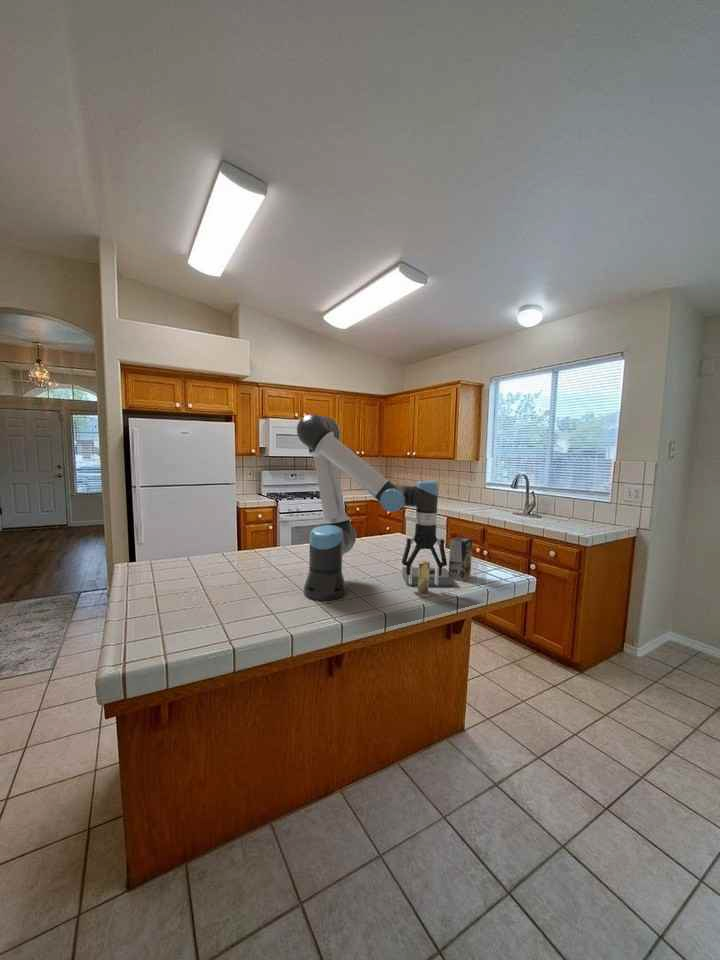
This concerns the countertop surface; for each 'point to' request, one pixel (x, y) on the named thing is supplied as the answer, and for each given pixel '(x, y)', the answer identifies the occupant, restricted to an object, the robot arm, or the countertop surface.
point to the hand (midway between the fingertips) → (423, 583)
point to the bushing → (423, 577)
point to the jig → (443, 580)
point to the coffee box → (460, 558)
